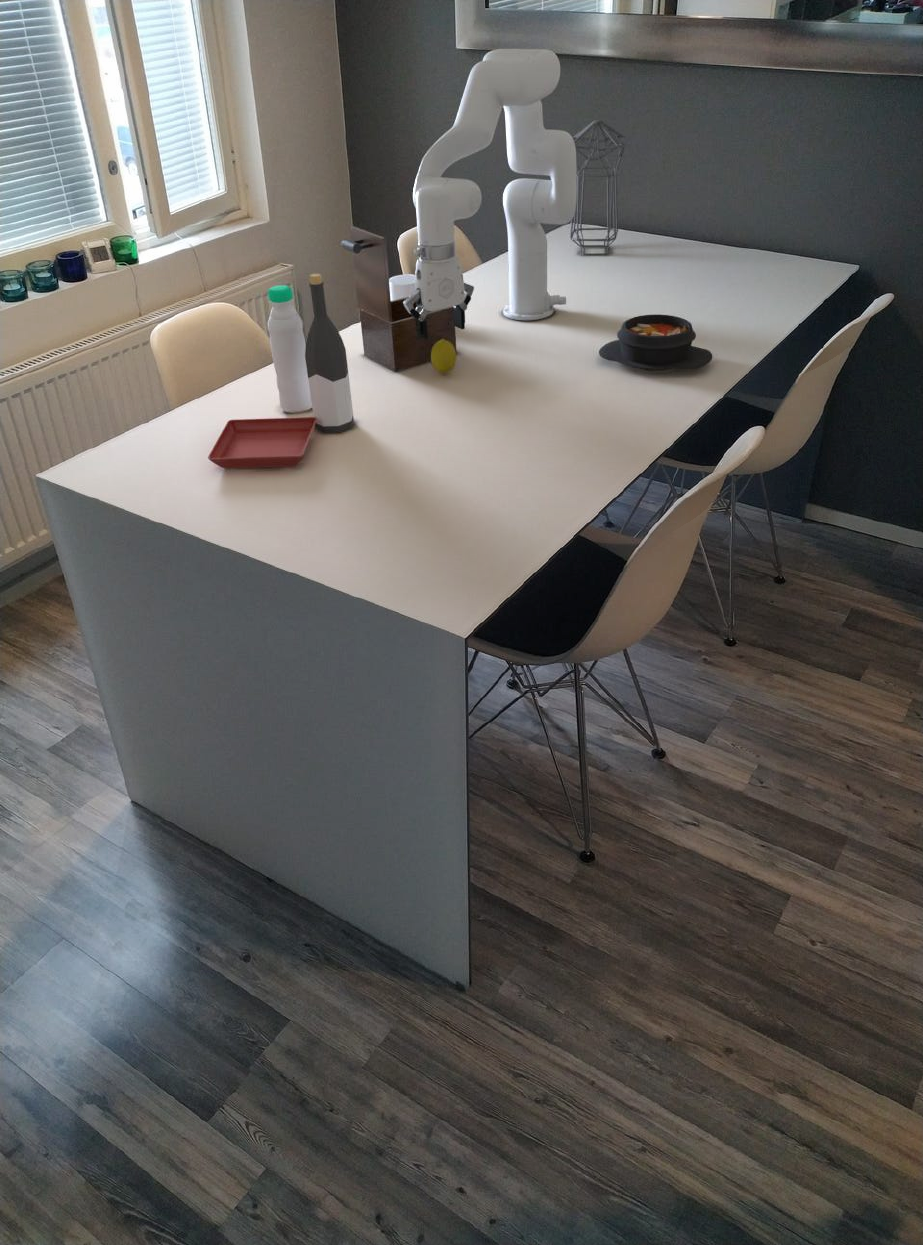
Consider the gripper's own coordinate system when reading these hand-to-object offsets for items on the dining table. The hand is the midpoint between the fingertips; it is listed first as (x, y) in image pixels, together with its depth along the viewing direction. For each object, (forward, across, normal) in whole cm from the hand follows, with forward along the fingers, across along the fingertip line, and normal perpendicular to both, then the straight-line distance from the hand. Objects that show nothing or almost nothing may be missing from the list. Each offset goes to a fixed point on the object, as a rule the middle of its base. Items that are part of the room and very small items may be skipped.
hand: (441, 332), depth 218 cm
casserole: (+9, +40, -25) cm, 48 cm away
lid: (-11, -7, +16) cm, 20 cm away
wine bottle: (+10, -32, -8) cm, 34 cm away
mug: (+9, +15, +35) cm, 39 cm away
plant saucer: (+10, -48, -10) cm, 50 cm away
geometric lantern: (+8, +89, +51) cm, 103 cm away
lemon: (+10, 0, 0) cm, 10 cm away
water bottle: (+10, -33, +6) cm, 35 cm away
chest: (+9, +1, +16) cm, 19 cm away
